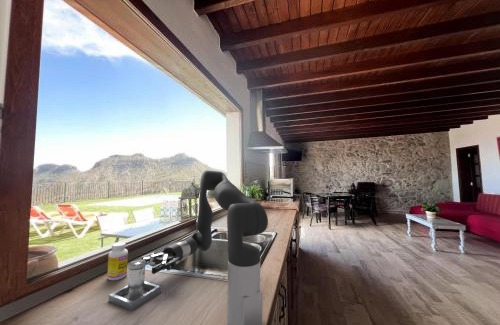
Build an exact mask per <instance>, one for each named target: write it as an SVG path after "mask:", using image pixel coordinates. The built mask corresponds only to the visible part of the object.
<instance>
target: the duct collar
mask: <svg viewBox="0 0 500 325" xmlns="http://www.w3.org/2000/svg"><path fill="white" fill-rule="evenodd" d="M144 290H146V291H147V292H146V293H145V292H144V295H142V296H141V297H139V298H137V299H136V300H134V301H131V300H128V299H127V298H125V297H123V296H124V295H126V294H127V292H128V284H127V285H125V286H123V287H121V288H119V289H117V290H115V291H113V292H112V293H109V294H108V302H109V303H112V304H115V305H116V306H119V307H122V308H124V309H127V310H128V311H134V310H135V309H137V308H139V307H140V306H141V305H143V304H144V303H147V301H149V300H151V299H152V298H153V297H155V296H157V295H158V294H160V293H161V292H162V289H161V285H158V284H155V283H152V282H148V281H145V283H144Z"/></svg>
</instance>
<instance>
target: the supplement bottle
mask: <svg viewBox="0 0 500 325" xmlns="http://www.w3.org/2000/svg"><path fill="white" fill-rule="evenodd" d="M111 249H112V250H110V251H109V252H108V255H107V256H108V257H107V258H108V259H107V274H106V275H107V277H106V278H107V280H109V281H118V280H122V279H123V278H125V277H127V276H128V260H129V259H128V258H129V257H128V256H129V251H128V249H127V248H126V242H124V241H122V242H121V241H120V242H115V243H112V244H111Z"/></svg>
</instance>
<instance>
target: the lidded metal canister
mask: <svg viewBox="0 0 500 325" xmlns="http://www.w3.org/2000/svg"><path fill="white" fill-rule="evenodd" d="M145 264H146V261H145V260H141V259H136V260H132V261H131V262H128V263H127V285H128V292H127V293H126V294H127V295H126V297H127V298H126V299H128V300H131V301H134V300H136V299H137V298H139V297H141V296H142V295H144V294H145V289H144V283H145V280H146V279H145V278H146V265H145Z"/></svg>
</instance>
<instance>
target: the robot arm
mask: <svg viewBox="0 0 500 325" xmlns="http://www.w3.org/2000/svg"><path fill="white" fill-rule="evenodd" d="M199 185H200V186H199V198H198V201H199V202H198V204H199V205H198V214H197V220H196V230H197V231H195V232H193V233H192V234H191V235H190V236H189V237H188V238H187V239H184V240H181V241H178V242H176V243H173V244H171V245H169V246H166V247H165V248H164V249H163V250H162V252H158V253H156V251H152V252H150V253H147V254H145V255H142V256H141V257H140V258H141V259H140V260H145V261H146V264H145V266H147V265H150V266H153V267H152V268H151V274H152V275H155V274H157V273H159V272H161V271H165V270H166V271H171V270H172V269H174V268H175V267H177V266H179V265H180V262H182V261H184V260H186V258H188V257H190V256H191V255H193V254H195V253H196V252H197V250H198V249H199V250H200V251H202V252H207V251H208V250H209V249H210V248H211V246H212V244H213V243H212V242H213V237H212V235H213V234H212V223H213V217H214V213H213V209H212V207H211V204H210V202H209V200H208V197H207V196H208V194H207V193H208V191H211V192H212V191H213V196H214V199H215V201H216V203H217V204H218V205H219V206H220V208H222V209H223V210H225V211H226V214H227V216H226V224H227V226H226V227H227V228H226V229H227V230H226V231H227V256H228V257H227V260H228V261H227V299H226V300H227V304H226V306H227V310H226V311H227V312H226V314H227V315H226V325H263V291H262V290H261V250H260V249H259V248H258V247H257V246H255V245H252V244H248V243H244V241H243V237H251V236H258V235H261V234H263V233H264V232H265V231H266V230H267V228H268V225H269V218H268V213H267V212H266V210H265V208H264V206H263V205H261V203H259V202H257V201H256V200H254V199H252V198H250V197H249V196H247V195H246V194H245V193H244V192H243V191H241V190H240V189H239V188H238V186H235V184H233V183H232V182H231V181H230V180H229V179H228V177H227V175H225V173H224V172H222V171H218V170H217V171H216V170H208V169H207V170H203V171H202V173H201V176H200V184H199ZM153 260H154V262H153Z"/></svg>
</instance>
